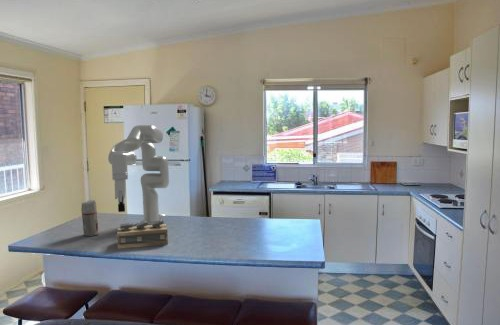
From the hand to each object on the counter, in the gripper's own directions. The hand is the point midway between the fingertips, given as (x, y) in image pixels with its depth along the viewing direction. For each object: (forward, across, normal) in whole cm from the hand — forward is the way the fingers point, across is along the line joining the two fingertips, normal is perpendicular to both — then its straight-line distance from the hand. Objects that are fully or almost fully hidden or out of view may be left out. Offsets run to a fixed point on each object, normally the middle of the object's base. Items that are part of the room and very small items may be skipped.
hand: (121, 211), depth 207 cm
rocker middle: (+8, 0, +10) cm, 13 cm away
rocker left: (+8, 0, +2) cm, 8 cm away
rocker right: (+8, 0, +18) cm, 20 cm away
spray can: (+18, -26, -18) cm, 36 cm away
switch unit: (+18, 0, +10) cm, 21 cm away
